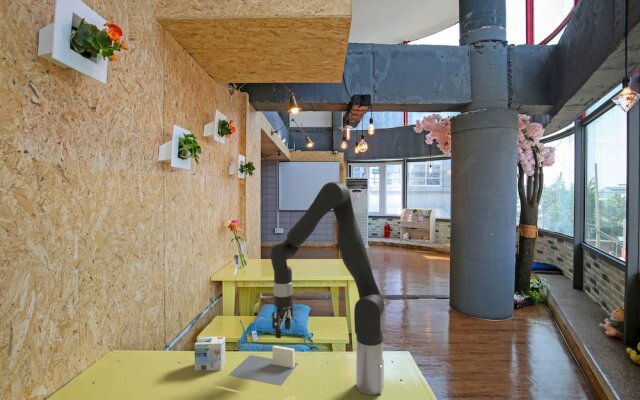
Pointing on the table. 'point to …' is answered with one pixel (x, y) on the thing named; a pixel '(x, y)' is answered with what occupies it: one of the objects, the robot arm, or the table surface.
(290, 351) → the card deck
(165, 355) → the table surface
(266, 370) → the mat
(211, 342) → the light bulb box
